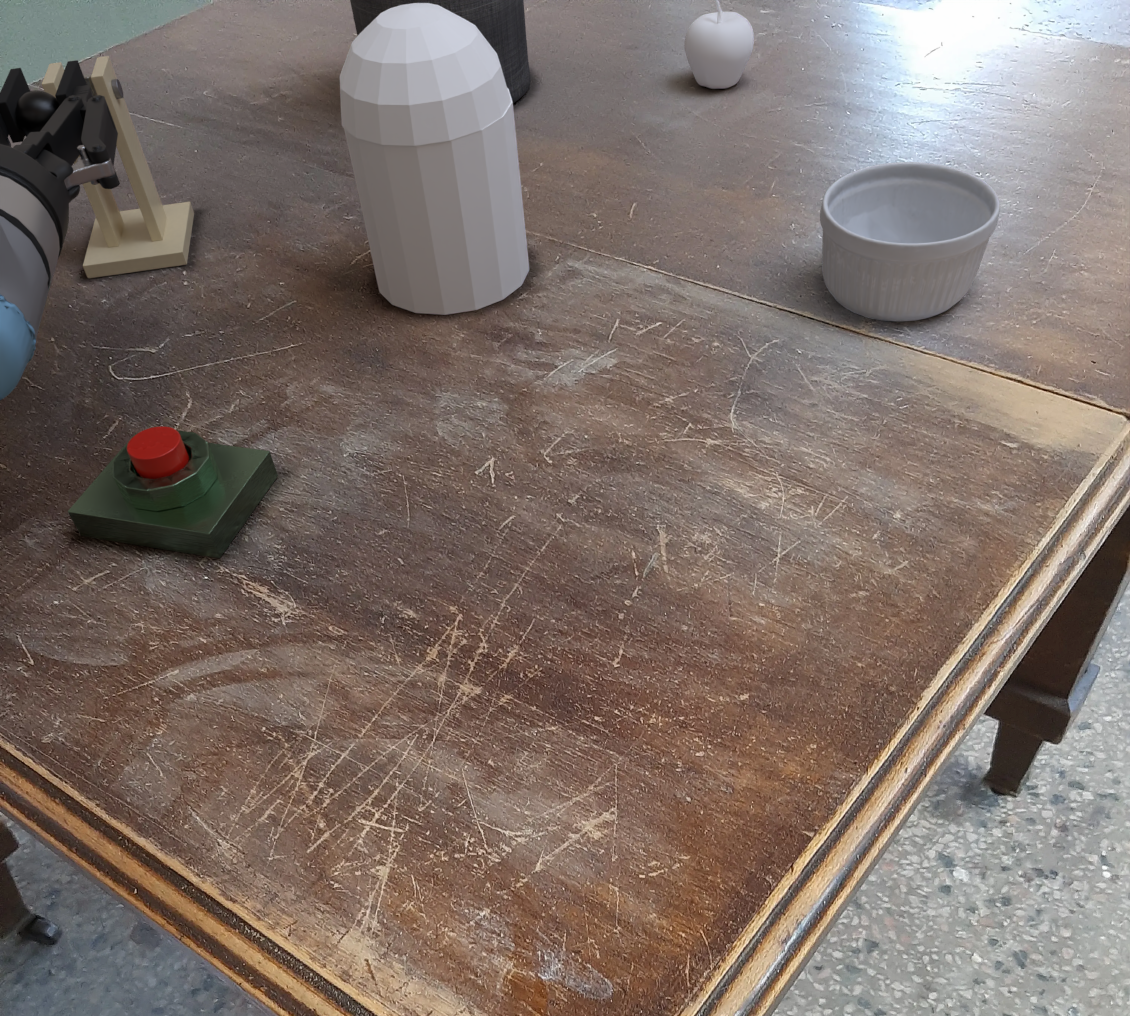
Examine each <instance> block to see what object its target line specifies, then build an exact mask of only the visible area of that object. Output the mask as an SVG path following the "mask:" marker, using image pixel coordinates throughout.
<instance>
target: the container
mask: <svg viewBox="0 0 1130 1016" xmlns="http://www.w3.org/2000/svg"><path fill="white" fill-rule="evenodd" d="M346 54H347V55H346V57H345V60H344V63H343V66H342V68H341V71H340V74H339V96H340V97H339V98H340V99H339V100H340V101H339V102H340V121H341V122H340V123H341V127H342V128H343V132H344V136H345V141H346V145H347V150H348V154H349V159H350V163H351V168H352V173H353V177H354V182H355V185H356V191H357V196H358V200H359V201H358V202H359V205H360V209H361V215H362V218H363V223H364V228H365V233H366V237H367V241H368V247H369V252H370V256H371V259H372V260H371V261H372V265H373V269H374V274H375V278H376V284H377V288H378V292H379V294H380V295H382V297H384V298H385V300H387V301H388V302H389V303H390V304H391V305H392V306H395V307H397V308H399V309H403V310H406V311H409V312H412V313H415V314H428V315H439V316H440V315H441V316H443V315H444V316H447V315H453V314H454V315H455V314H459V313H466V312H473V311H477V310H480V309H483V308H485V307H488V306H491V305H493V304H496V303H498V302H501V301H503V300H505V299H506V298H507V297H509V296H510V295H511V294H512V293H514V292H516V291H517V290H518V289H520V287H522V286H523V284H524V282H525V280H526V278H527V276H528V274H529V272H530V260H529V252H528V242H527V241H528V240H527V232H526V231H527V230H526V221H525V213H524V212H525V211H524V201H523V191H522V181H521V172H520V162H519V152H518V142H517V132H516V122H515V112H514V103H513V102H512V98H511V95H510V92H509V89H508V88H507V86H506V82H505V79H504V75H503V72H502V68H501V65H500V62H499V58H498V55H497V53H496V52H495V50H494V49H493V48H492V47H491V45H490V44H489V43H488V41H487V40H486V39H485V37H484V36H483V35H482V33H481V32H480V31H479V30H478V28H477V27H476V26H475V25H474V24H472V23H471V22H469V21H467V20H465V19H464V18H462V17H460V16H458V15H456V14H454V13H452V12H450V11H449V10H447V9H445V8H443V7H441V6H439V5H436V4H430V3H412V4H405V5H400V6H396V7H393V8H390V9H388V10H386V11H384V12H382V13H380V14H379V15H378V16H377V17H376V18H375V19H374V20H373V21H372V22H371V23H370V24H369V25H368V26H367V27H366V28H365V29H364V30H363V31H362V32H361V33H360V34H359V35H358V36H357V35H356V37H355V38H354V39H353V41H351V43H350V46H349V50H348V52H347V53H346Z"/></svg>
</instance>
